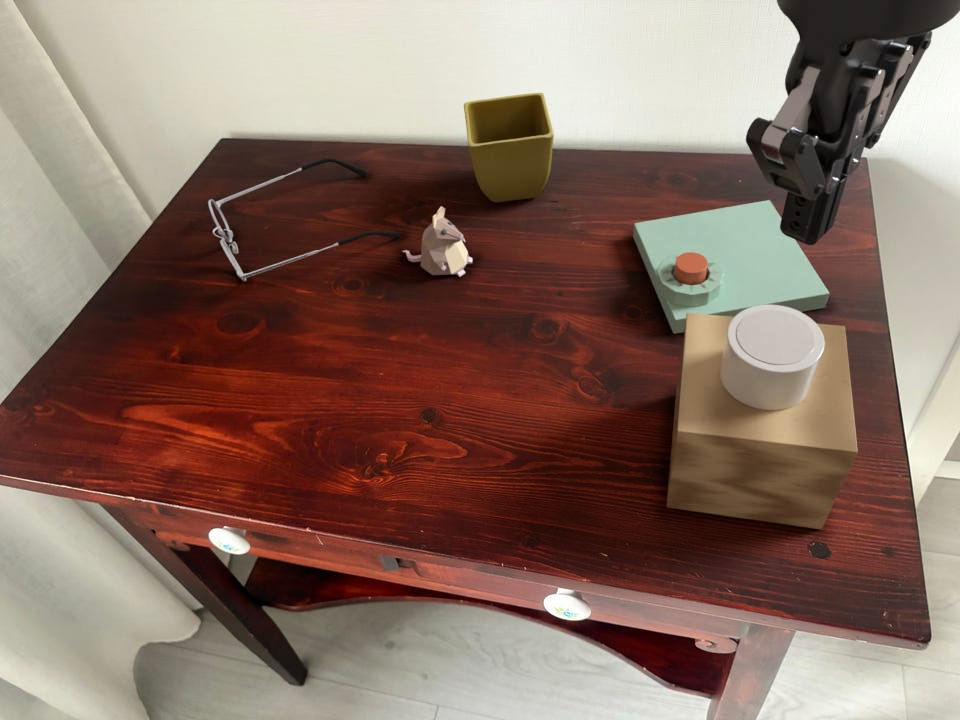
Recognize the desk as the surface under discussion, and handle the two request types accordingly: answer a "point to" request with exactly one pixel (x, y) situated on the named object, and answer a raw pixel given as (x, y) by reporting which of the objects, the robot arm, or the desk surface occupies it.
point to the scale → (728, 263)
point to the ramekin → (771, 356)
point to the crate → (759, 437)
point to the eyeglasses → (244, 276)
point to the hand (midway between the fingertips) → (805, 231)
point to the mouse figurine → (442, 248)
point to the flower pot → (510, 145)
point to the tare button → (690, 268)
